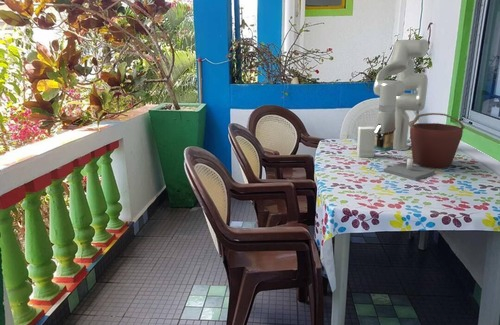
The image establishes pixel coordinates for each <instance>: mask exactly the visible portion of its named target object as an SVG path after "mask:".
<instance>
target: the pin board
mask: <svg viewBox="0 0 500 325" xmlns="http://www.w3.org/2000/svg"><path fill="white" fill-rule="evenodd" d="M406 160H407V161H406V163H405V162H401V163H399V164H398V163H397V164H396V165H392V166H389V167H385V168H383V169H382V172H383V173H386V174H390V175H394V176H397V177H400V178H401V177H402V178H406V179H409V180H412V181H418V180H421V179H423V178H426V177H430V176H432V175H435V174H436V169H435V170H434V169H432V168H428V167H421V166H419V165H418V166H417V165H415V164H414V163H413V158H412V157H411V158H407V159H406ZM413 164H414V165H413Z"/></svg>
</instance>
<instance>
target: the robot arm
mask: <svg viewBox="0 0 500 325" xmlns="http://www.w3.org/2000/svg"><path fill="white" fill-rule="evenodd" d="M392 46H393V47H392V48H393V50H392V54H391V58H390V60H389V63H388V64H386V65H385V66H383V67H382V68H381V69H380V70H379V71H378V72H377V74H376V76H375V80H374V83H373V93H374V95H376V96H378V97H379V102H378V103H379V104H378V111H377V115H376V119H375V124H374V128H375V132H374V133H375V138H377V147H381V148H382V147H383V140H384V139H383V136H384V133H393V134H394V141H393V150H395V151H408V150H409V149H410V146H409V145H408V144H411V139H408V138H409V137H408V135H409V129H410V126H409V124H408V123H409V122H410V116H409V114H408V113H407V111H410V112H411V111H412V112H413V111H415V112H420V111H423V110H424V109H425V106H426V100H427V92H428V81H429V79H428V76H427V74H426V73H422V72H415V64H416V63H415V61H414V59H413V58H423V57H425V56H426V55H427V54H428V51H429V47H430V46H429V41H428V40H427V39H422V38H421V39H399V40H396V41H394V43H393V45H392ZM395 75H396V80H392V79H387V78H389V77H392V76H395ZM405 91H408V92H405ZM410 91H411V93H410ZM414 91H415V92H416V93H413V92H414ZM380 134H382V135H380ZM393 150H392V151H393Z"/></svg>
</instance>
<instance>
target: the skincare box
mask: <svg viewBox="0 0 500 325" xmlns="http://www.w3.org/2000/svg"><path fill="white" fill-rule="evenodd" d="M357 129H358V130H357V144H356V145H357V147H356V155H357V157H358V158H375V150H374V148H375V138H376V135H375V133H374V132H375V126H358V128H357Z"/></svg>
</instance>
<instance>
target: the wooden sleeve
mask: <svg viewBox="0 0 500 325" xmlns="http://www.w3.org/2000/svg"><path fill="white" fill-rule="evenodd" d="M380 135H382V134H380ZM383 139H384V140H383V147H382V148H381V147H377V138H376V137H375V148H374V151H380V152H384V153H387V152H390V151H393V141H394V134H393V133H384V136H383Z"/></svg>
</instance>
